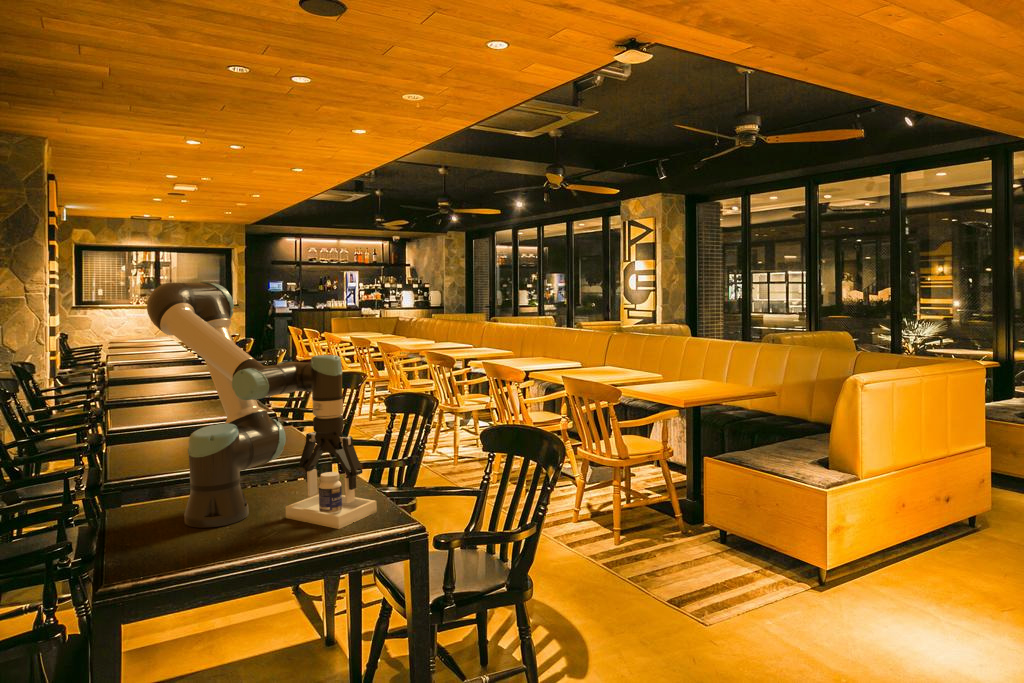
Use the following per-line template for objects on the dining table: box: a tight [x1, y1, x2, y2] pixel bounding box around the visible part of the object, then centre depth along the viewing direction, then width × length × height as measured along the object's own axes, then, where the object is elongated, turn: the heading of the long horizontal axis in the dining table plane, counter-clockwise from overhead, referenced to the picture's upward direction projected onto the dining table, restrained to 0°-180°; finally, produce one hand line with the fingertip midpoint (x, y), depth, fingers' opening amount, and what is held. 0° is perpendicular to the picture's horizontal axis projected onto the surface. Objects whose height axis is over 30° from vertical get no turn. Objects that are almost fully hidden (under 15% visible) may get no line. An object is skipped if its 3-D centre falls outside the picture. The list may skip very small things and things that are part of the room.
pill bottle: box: [318, 471, 343, 514], centre depth 175 cm, size 6×6×10 cm
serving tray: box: [285, 493, 378, 530], centre depth 175 cm, size 18×14×3 cm
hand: (331, 498), depth 175 cm, fingers open, 12 cm apart
